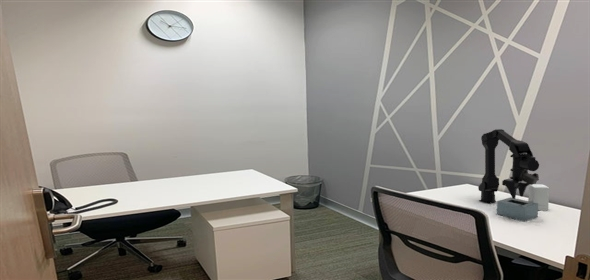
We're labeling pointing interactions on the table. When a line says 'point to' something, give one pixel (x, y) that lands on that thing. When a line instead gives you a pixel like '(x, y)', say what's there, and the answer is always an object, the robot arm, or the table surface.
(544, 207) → the supplement box
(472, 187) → the table surface
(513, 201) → the box
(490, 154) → the robot arm
